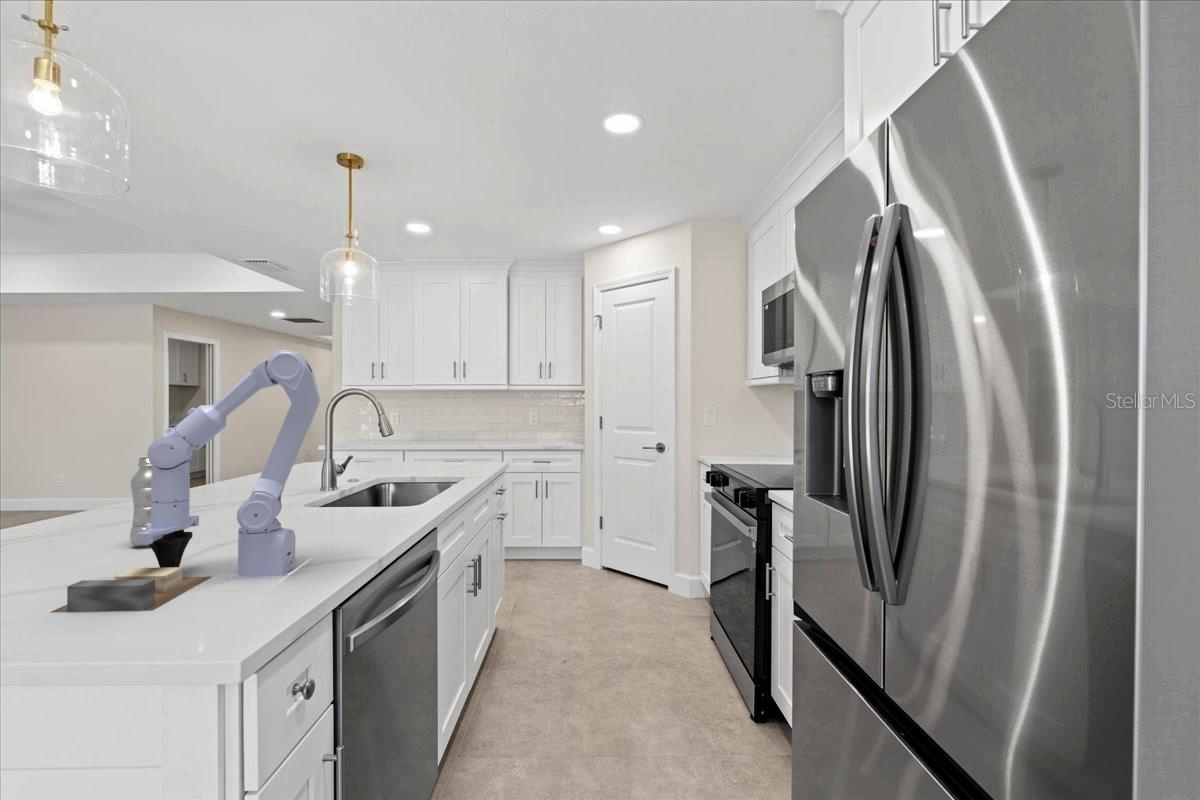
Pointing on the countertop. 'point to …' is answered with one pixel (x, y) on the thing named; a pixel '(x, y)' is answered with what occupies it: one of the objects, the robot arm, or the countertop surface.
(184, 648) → the countertop surface
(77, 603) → the board
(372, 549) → the countertop surface
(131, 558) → the countertop surface
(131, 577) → the cream wooden block
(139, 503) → the plastic bottle
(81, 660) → the countertop surface
